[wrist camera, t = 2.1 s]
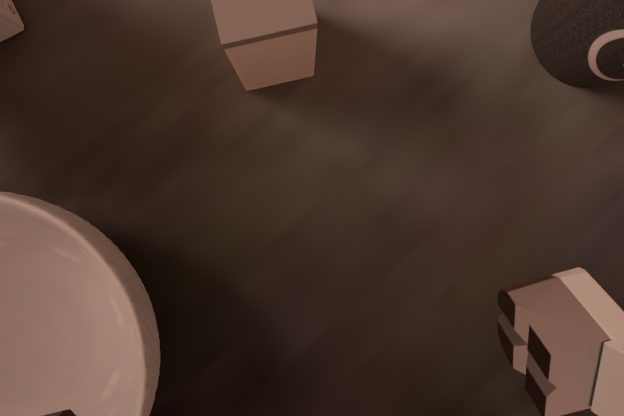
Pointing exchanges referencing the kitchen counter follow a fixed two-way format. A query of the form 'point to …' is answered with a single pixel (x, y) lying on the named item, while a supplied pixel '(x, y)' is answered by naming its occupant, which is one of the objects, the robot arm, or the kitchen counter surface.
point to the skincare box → (9, 20)
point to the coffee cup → (580, 40)
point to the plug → (268, 39)
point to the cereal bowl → (71, 318)
